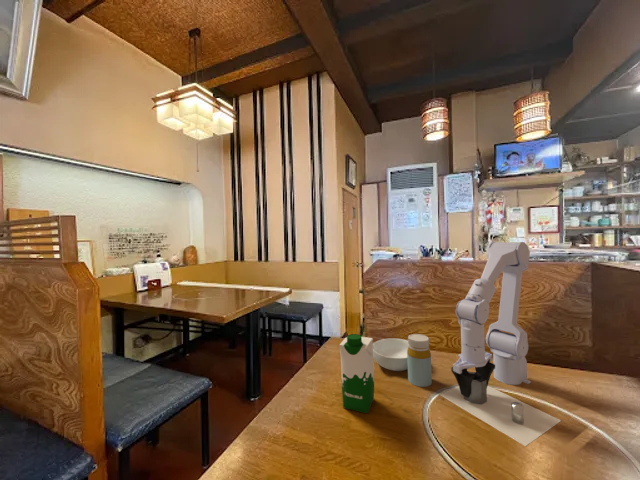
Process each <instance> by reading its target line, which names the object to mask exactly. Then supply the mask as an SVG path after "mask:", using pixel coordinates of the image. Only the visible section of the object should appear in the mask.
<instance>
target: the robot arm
mask: <svg viewBox="0 0 640 480" xmlns="http://www.w3.org/2000/svg"><path fill="white" fill-rule="evenodd" d="M530 253H531V252H530V248H529V246H528V244H527V243H526V242H525V241H520V242H519V241H518V242H513V241H512V242H510V241H509V242H508V241H507V242H505V241H500V242H499V241H498V242H496V241H490V243H488V245H487V247H486V258H487V261H486V263H485V266H484V269H483V271H482V274H481V277H480V278H477V279H475V280H474V282H472V284H471V287H470V289H469V290H468V293H467V294H466V296H465V298H464V299H462V300H459V301H458V302H457V304H456V307H455V309H454V311H455V316H456V317H457V321H458V324H459V326H460V344H461V345H460V347H461V348H460V349H461V351H460V352H461V353H459V354H458V357H459V358H458V359H457V361H456V362H454V363H453V364H452V367H451V368H450V369H451V370H450V371H451V373H452V374H453V376H454V377H455V379H456V382H457V384H458V385H457V386H459V388H460V392H461V394H462V395H463V396H465V397H467V398H469V397H470V392H471V383H472V380H473V378H474V375H472V374H470V373H469V372H468V371H469V370H468V369H472V368H473V369H475V372H477V373H479V374H481V375H483V376H484V377H485V379H486V388H487V386H489V383H490V378H491V375H492V374H493V377H494V379H495V380H497V381H499V382H500V383H503V384H506V385H510V386H518V385H519V386H520V385H521V384H522V382H523V383H525V384H527V385H529V384H531V383H532V381H530V380H528V361H527V359H526V356H527V354H528V351H529V342H528V333H527V331H526V330H524V328H522V327H521V326H520V325H519V324H518V320H519V319H518V318H519V309H520V299H521V290H522V289H521V288H522V280H523V272H524V271H527V270H528V269H529V265H530V264H529V263H530ZM501 274H502V281H501V282H502V283H501V291H500V298H499V302H500V303H499V310H498V320H496V322H492V323H491V324H489V326H488V331H487V333H486V335H485V324H486V322H487V320H489V315H490V314H489V313H490V309H491V308H490V307H491V306H490V302H491V301H492V299H493V296H494V294H495V292H496V291H497V287H496V286H495V283H496V281H497V280H498V278H499V276H500V275H501ZM485 343H486V344H485ZM485 345H486V346H487V347H488V348H489V349H490V352H491V353H490V352H488V351H486V350H485V349H486V347H485ZM492 361H493V362H492Z"/></svg>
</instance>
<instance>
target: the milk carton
mask: <svg viewBox="0 0 640 480" xmlns="http://www.w3.org/2000/svg"><path fill="white" fill-rule="evenodd" d="M373 343H374V339H373V337H367V336H366V337H365V336H362V335H360V334H358V333H357V334H356V333H351V334H348V335H347V336H345V338H343V340H342V341H341V342H340V343H339V353H340V367H341V369H340V372H341V373H340V374H341V377H340V378H341V393H342V408H343V409H348V410H351V411H354V412H355V411H356V412H360V413H363V414H369V412H370V409H371V406H372V403H373V401H374V400H375V365H374V357H373Z"/></svg>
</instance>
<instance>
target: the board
mask: <svg viewBox="0 0 640 480" xmlns="http://www.w3.org/2000/svg"><path fill="white" fill-rule="evenodd" d="M438 396H441V397H442V398H443V399H446V400H448V401H449V402H450V403H452V404H454V405H456V406H457V407H458V408H461V409H462V410H463V411H465V412H468V413H469V414H470V415H472V416H473V417H476V418H477V419H479V420H480V421H482V422H483V423H485V424H488V425H489V426H490V427H491V428H494V429H495V430H497V431H499V432H500V433H502V434H504V435H506V436H507V437H509V438H510V439H513V440H514V441H516V442H517V443H519V444H520V445H523V447H527V446H529V445H530V444H531V443H533V442H534V441H535V440H537V439H538V438H539V437H541V436H543V434H545V433H546V432H547V431H550V429H552V428H553V427H554V426H556V425H557V424H559V423H560V422H561V421H562V420H561V419H559V418H557V417H555V416H553V415H550V414H549V413H546V412H544V411H542V410H540V409H538V408H536V407H533V406H532V405H529V404H528V403H525V402H523V401H521V400H519V399H517V398H515V397H512V396H510V395H508V394H506V393H504V392H502V391H500V390H497V389H496V388H493V387H491V386H490V385H488V386H487V402H486V403H484V404H474V403H471V402H469V401H467V400H465V399H464V397H463V395H462V394H461V392H460V388H459V385H457V386H455V387H452V388H451V389H448V390H445V391H444V392H442V393H439V394H438ZM512 402H518V403H520V404H522V405H523V407H524V424H522V425H520V424H516V423H514V422H513V421H512V410H511V403H512Z"/></svg>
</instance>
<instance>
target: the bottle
mask: <svg viewBox="0 0 640 480" xmlns="http://www.w3.org/2000/svg"><path fill="white" fill-rule="evenodd" d="M407 340H408V346H409V347H408V350H407V361H408V369H407V381H408V383H410V384H411V385H413V386H415V387H419V388H427V387H430V386H431V385H432V384H433V383H432V381H433V378H432V353H431V351H430V339H429V337H428V336H427V335H425V334H421V333H420V334H419V333H413V334H409V335H408V337H407Z"/></svg>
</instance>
